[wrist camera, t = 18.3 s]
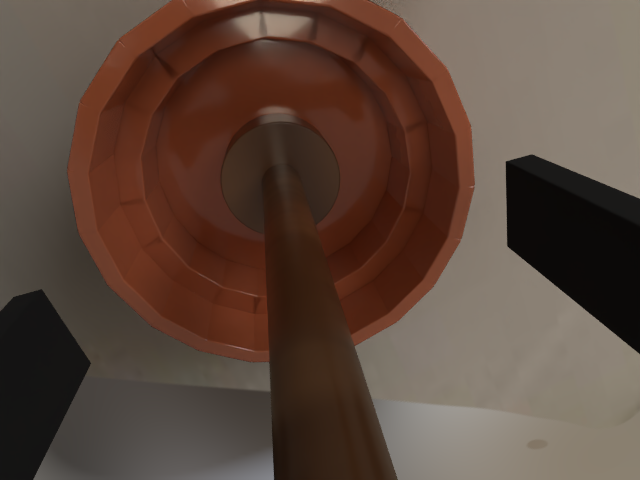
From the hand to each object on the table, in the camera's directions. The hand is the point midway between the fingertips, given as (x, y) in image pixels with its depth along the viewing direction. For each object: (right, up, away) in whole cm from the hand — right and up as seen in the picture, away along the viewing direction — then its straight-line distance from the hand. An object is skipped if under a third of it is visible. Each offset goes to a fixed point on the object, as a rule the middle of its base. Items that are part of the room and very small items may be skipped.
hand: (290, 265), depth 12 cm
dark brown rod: (-1, +4, +10) cm, 11 cm away
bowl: (-1, +5, +10) cm, 11 cm away
